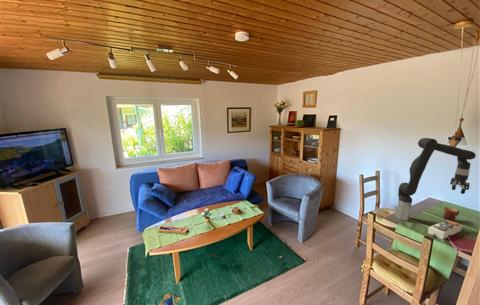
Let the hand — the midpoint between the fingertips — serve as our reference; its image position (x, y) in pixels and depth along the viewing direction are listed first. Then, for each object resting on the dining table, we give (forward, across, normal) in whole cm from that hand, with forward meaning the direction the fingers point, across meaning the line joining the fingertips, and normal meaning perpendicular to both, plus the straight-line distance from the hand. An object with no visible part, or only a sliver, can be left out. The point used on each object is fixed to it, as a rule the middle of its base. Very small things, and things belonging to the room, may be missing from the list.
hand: (457, 191), depth 167 cm
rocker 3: (+21, +17, -12) cm, 29 cm away
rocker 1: (+22, +26, -26) cm, 43 cm away
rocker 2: (+21, +21, -19) cm, 36 cm away
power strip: (+28, +21, -21) cm, 41 cm away
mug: (+28, -2, +1) cm, 28 cm away
